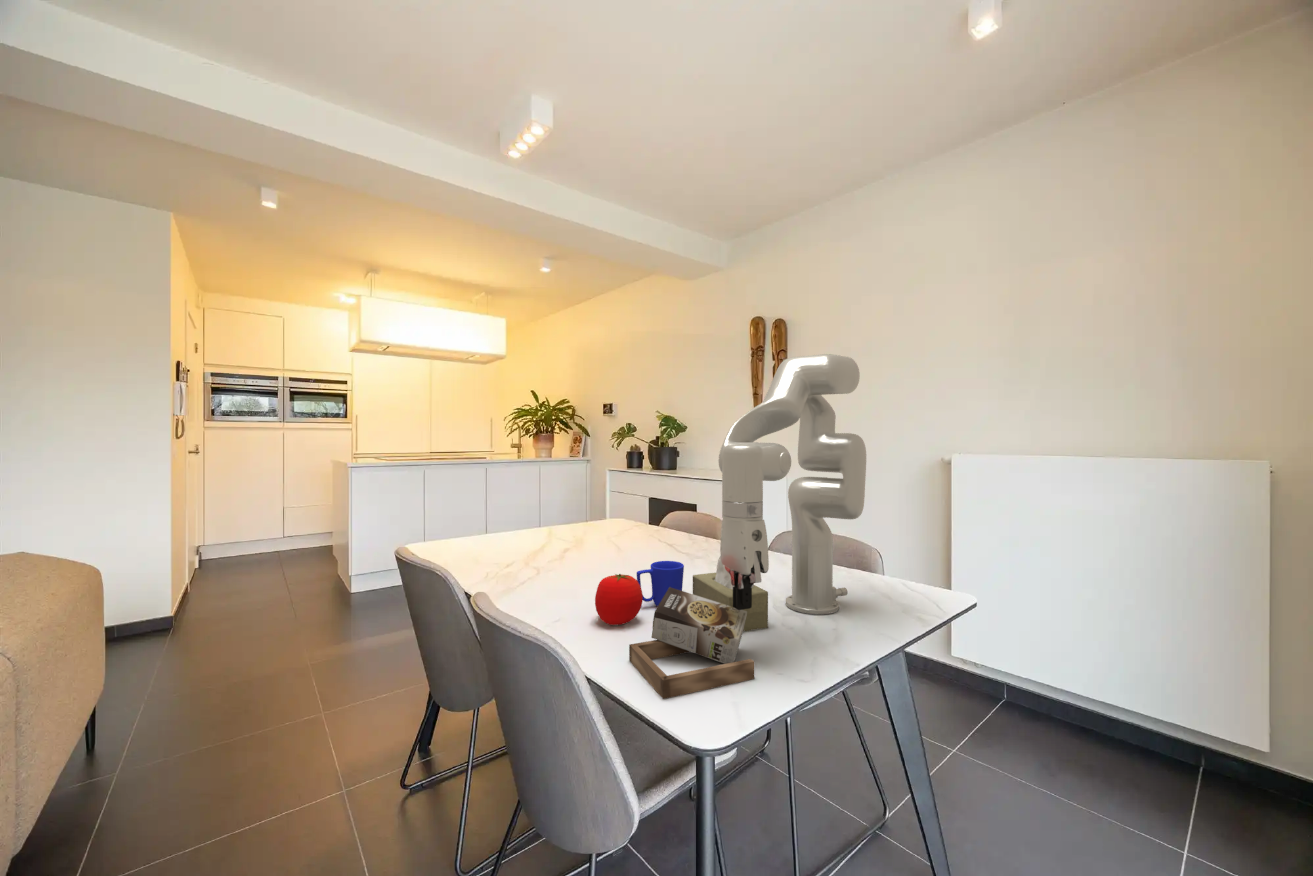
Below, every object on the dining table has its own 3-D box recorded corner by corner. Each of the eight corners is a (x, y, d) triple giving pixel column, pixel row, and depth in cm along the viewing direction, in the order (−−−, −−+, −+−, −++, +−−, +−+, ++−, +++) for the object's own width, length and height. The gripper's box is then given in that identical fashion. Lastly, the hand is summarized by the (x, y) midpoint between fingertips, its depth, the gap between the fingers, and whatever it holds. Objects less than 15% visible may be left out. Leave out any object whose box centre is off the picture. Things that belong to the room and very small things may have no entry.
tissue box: (769, 629, 114) (769, 556, 114) (729, 635, 110) (729, 560, 110) (727, 602, 131) (727, 539, 131) (691, 607, 128) (691, 542, 128)
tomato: (584, 624, 116) (584, 575, 116) (614, 610, 125) (614, 565, 125) (622, 634, 110) (622, 583, 110) (650, 619, 119) (650, 572, 119)
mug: (631, 604, 129) (631, 564, 129) (675, 598, 134) (675, 559, 134) (643, 615, 122) (643, 572, 122) (689, 608, 127) (689, 566, 127)
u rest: (710, 645, 104) (710, 630, 104) (754, 678, 90) (754, 661, 90) (629, 660, 97) (629, 644, 97) (663, 699, 83) (663, 680, 83)
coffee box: (739, 639, 93) (654, 611, 97) (733, 668, 95) (649, 639, 99) (747, 609, 101) (668, 585, 105) (741, 636, 103) (664, 611, 107)
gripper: (783, 514, 93) (783, 618, 93) (737, 504, 106) (737, 594, 106) (747, 517, 90) (747, 624, 90) (705, 506, 103) (705, 598, 103)
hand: (742, 607), depth 98 cm, fingers closed
